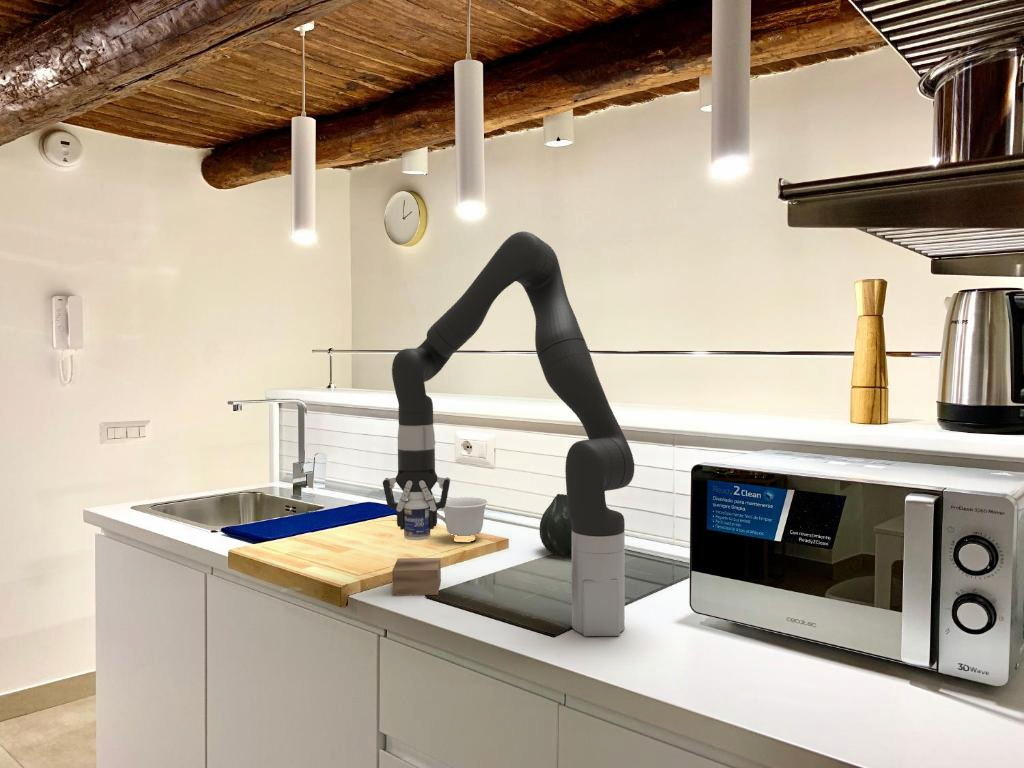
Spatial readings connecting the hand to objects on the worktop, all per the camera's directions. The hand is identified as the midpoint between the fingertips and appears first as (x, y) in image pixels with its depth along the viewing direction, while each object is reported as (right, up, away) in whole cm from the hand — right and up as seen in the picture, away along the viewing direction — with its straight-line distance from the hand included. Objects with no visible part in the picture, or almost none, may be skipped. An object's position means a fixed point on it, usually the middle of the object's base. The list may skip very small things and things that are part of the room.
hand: (417, 528), depth 160 cm
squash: (+33, -11, +27) cm, 45 cm away
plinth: (0, -12, 0) cm, 12 cm away
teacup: (+6, -11, +40) cm, 42 cm away
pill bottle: (0, -2, 0) cm, 2 cm away
